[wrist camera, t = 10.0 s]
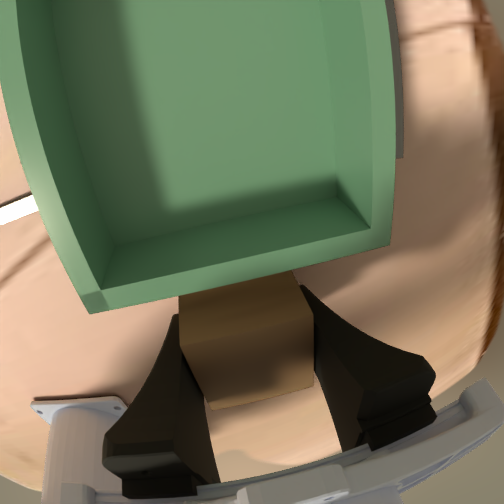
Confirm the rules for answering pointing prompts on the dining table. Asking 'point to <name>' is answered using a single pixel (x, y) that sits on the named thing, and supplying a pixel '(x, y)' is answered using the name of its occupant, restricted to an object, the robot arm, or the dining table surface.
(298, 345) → the walnut block
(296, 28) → the green tray
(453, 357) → the dining table surface
